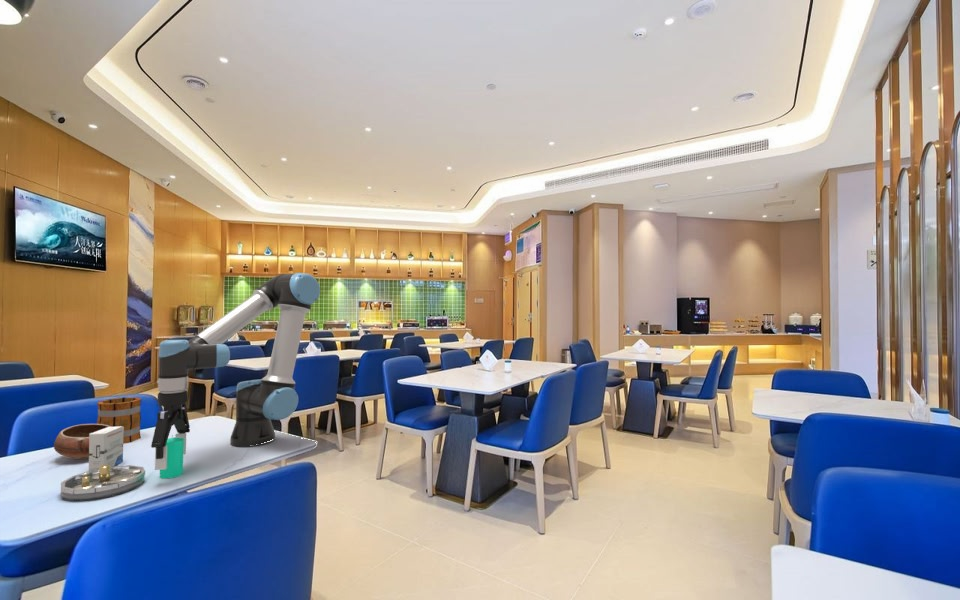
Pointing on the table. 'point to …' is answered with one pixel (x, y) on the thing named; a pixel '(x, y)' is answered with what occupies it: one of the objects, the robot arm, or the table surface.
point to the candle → (173, 458)
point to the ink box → (106, 447)
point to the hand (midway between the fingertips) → (171, 461)
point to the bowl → (76, 440)
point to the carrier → (102, 483)
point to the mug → (121, 416)
